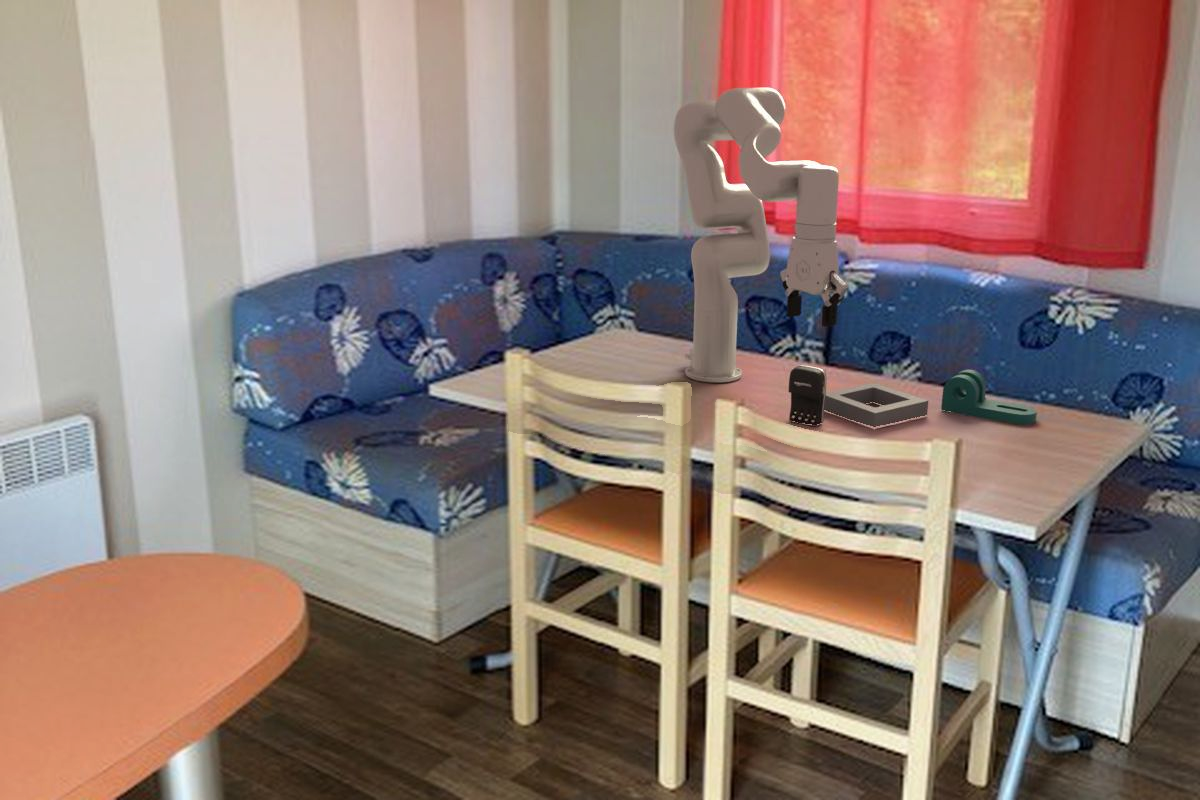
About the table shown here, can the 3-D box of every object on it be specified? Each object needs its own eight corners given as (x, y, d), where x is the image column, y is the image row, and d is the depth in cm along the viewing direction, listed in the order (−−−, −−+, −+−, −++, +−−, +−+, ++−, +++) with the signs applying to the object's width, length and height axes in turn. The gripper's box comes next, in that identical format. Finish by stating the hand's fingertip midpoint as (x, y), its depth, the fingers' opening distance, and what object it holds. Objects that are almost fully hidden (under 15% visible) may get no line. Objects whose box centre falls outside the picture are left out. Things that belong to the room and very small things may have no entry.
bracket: (940, 411, 251) (944, 374, 249) (951, 403, 257) (955, 367, 254) (1030, 427, 242) (1034, 389, 240) (1039, 418, 247) (1043, 381, 245)
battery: (784, 422, 243) (787, 367, 240) (792, 417, 246) (796, 362, 243) (816, 429, 239) (819, 373, 236) (824, 424, 242) (828, 368, 239)
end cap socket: (820, 410, 251) (821, 393, 250) (872, 398, 259) (873, 382, 258) (873, 430, 239) (875, 413, 238) (926, 417, 247) (928, 400, 246)
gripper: (769, 228, 237) (766, 314, 241) (833, 240, 223) (828, 332, 228) (798, 224, 241) (794, 310, 245) (863, 236, 227) (857, 326, 232)
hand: (811, 320), depth 237 cm, fingers open, 9 cm apart
